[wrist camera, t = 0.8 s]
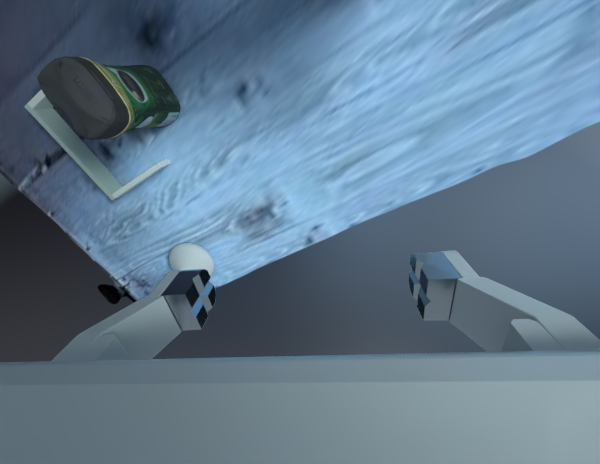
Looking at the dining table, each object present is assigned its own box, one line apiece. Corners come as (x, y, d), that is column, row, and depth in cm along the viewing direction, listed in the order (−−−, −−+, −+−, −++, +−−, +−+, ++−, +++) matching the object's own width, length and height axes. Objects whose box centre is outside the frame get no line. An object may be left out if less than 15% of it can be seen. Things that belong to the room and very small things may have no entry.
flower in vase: (196, 283, 68) (137, 372, 46) (163, 253, 64) (81, 335, 42) (231, 261, 64) (183, 348, 42) (198, 228, 60) (126, 305, 38)
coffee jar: (122, 84, 47) (15, 79, 30) (153, 58, 44) (54, 37, 28) (159, 133, 50) (81, 152, 34) (189, 112, 48) (120, 121, 32)
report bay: (91, 60, 45) (72, 57, 42) (171, 163, 53) (160, 167, 49) (45, 105, 49) (24, 106, 46) (124, 194, 57) (112, 200, 54)
